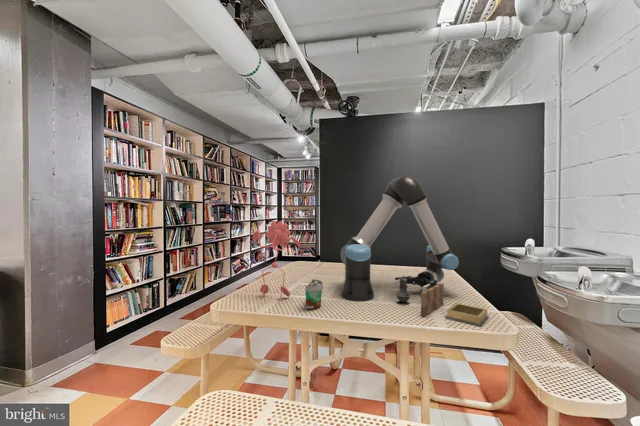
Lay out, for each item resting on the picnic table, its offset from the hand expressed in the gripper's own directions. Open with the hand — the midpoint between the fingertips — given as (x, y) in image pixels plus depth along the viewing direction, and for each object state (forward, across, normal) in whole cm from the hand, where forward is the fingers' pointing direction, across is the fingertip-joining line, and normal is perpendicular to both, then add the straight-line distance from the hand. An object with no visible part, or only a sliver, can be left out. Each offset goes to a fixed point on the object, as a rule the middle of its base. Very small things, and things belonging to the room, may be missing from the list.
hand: (408, 287), depth 129 cm
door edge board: (+3, -12, -6) cm, 14 cm away
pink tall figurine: (+33, +49, -7) cm, 59 cm away
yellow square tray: (+3, -25, -6) cm, 26 cm away
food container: (+32, +25, -7) cm, 42 cm away
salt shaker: (+3, +1, -7) cm, 7 cm away
